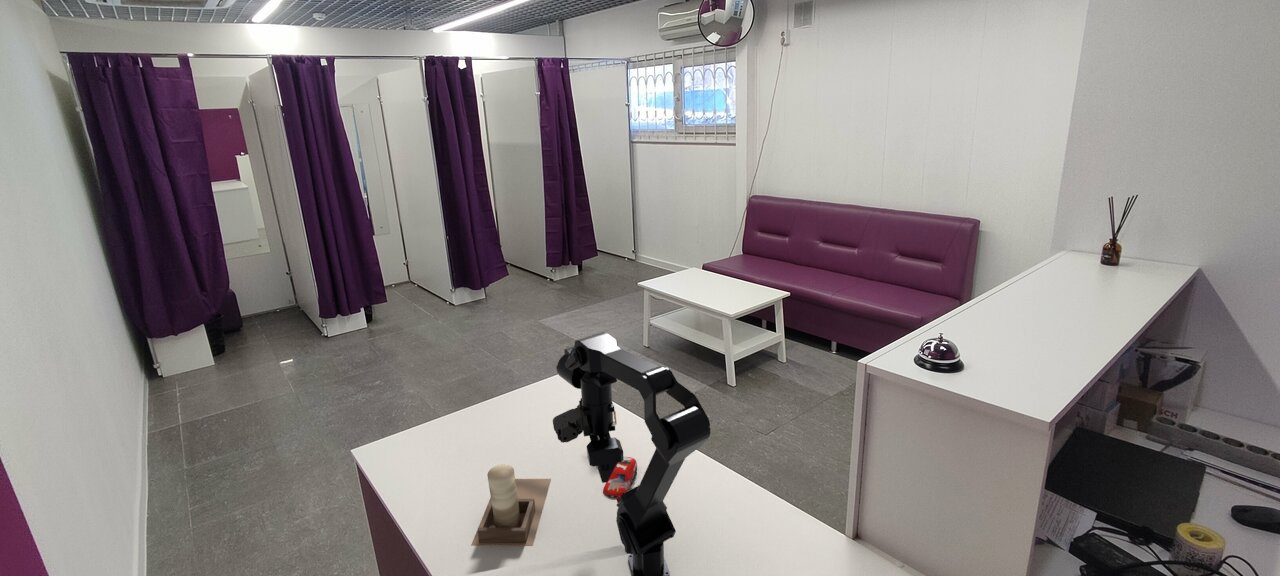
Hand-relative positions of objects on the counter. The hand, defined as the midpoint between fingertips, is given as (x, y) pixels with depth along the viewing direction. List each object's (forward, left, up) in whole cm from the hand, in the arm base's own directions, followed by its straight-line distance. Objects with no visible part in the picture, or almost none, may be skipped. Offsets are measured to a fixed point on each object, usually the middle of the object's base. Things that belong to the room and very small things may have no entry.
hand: (600, 467), depth 115 cm
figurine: (+26, -4, -13) cm, 29 cm away
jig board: (+7, +18, -13) cm, 23 cm away
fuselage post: (+2, +19, -12) cm, 22 cm away
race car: (+11, -6, -14) cm, 18 cm away
